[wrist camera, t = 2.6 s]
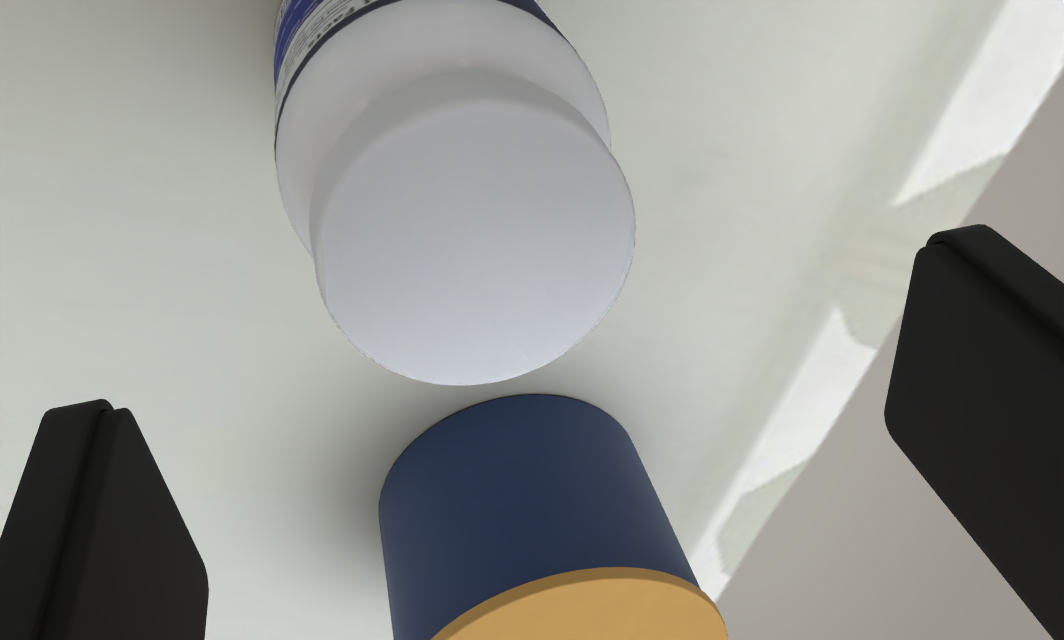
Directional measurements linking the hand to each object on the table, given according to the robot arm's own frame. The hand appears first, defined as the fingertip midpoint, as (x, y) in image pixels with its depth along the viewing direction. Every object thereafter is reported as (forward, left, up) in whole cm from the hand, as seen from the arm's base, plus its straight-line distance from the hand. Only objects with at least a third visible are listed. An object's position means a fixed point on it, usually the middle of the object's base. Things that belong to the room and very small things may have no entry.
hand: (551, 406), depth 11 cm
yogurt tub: (+16, +1, -13) cm, 20 cm away
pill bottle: (0, 0, -13) cm, 13 cm away
